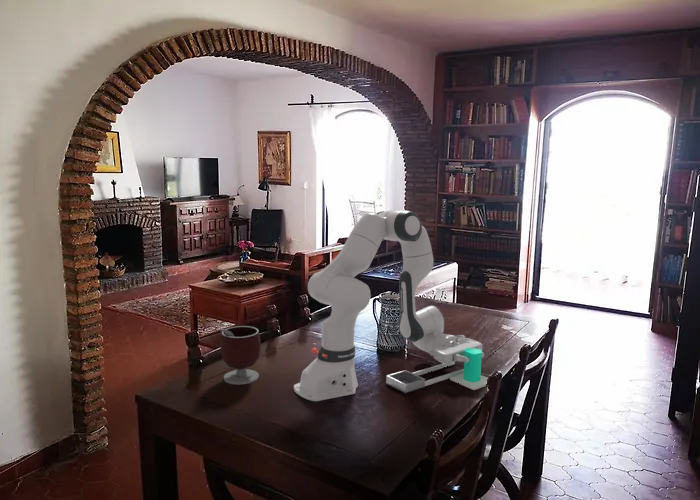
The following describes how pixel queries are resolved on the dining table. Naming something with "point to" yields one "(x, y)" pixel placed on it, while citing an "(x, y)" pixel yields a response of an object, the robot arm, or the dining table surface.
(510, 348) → the dining table surface
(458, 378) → the ceramic tile
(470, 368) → the candle
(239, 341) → the mate gourd
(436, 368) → the guide channel
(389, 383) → the shallow square tray
